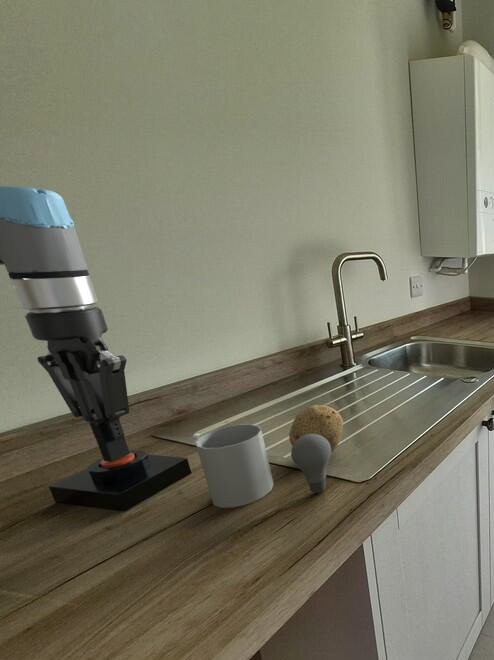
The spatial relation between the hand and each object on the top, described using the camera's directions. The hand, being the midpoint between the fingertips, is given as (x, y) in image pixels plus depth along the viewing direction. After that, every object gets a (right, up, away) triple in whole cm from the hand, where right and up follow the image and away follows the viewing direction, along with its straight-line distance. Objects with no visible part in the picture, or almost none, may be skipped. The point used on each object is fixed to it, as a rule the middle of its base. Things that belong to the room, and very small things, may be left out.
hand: (117, 457), depth 65 cm
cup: (+20, -6, 0) cm, 21 cm away
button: (0, -2, +1) cm, 2 cm away
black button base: (0, -5, +2) cm, 6 cm away
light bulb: (+32, -6, 0) cm, 33 cm away
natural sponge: (+27, -2, +12) cm, 30 cm away
